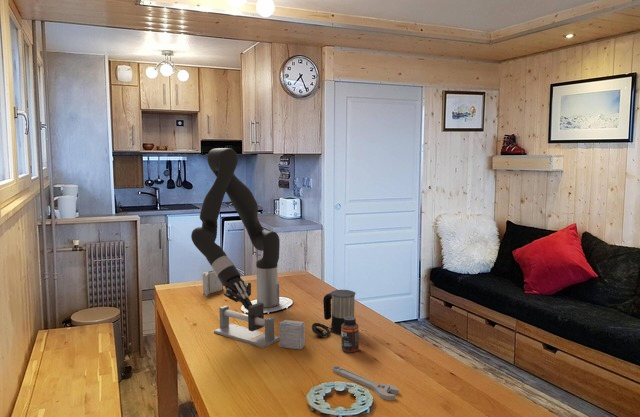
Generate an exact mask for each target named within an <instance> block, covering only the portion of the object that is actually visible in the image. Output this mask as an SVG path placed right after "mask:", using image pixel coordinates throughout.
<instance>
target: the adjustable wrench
mask: <svg viewBox="0 0 640 417" xmlns="http://www.w3.org/2000/svg"><path fill="white" fill-rule="evenodd" d="M331 370H332V373H335V374H337V375H340V376H342V377H343V378H346V379H349V380H351V381H353V382H355V383H357V384H360V385H362V386H364V387H366V388H369V389H371V390H373V391H374V392H375V393H376V394H377V396H378V397H379V398H381V399H383V400H386V401H387V400H388V401H394V400H396V398H397V397H396V395H399V394H400V389H399V388H398V387H396V386H395V385H393V384H392V383H387V384H386V383H378V382H375V381H373V380H371V379H369V378H366V377H365V376H363V375H359V374H357V373H355V372H353V371H350V370H348V369H346V368H344V367H341V366H339V365H335V366H334V365H333V366H332V369H331Z"/></svg>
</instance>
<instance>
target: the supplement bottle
mask: <svg viewBox="0 0 640 417" xmlns="http://www.w3.org/2000/svg"><path fill="white" fill-rule="evenodd" d="M340 335H341V336H340V337H341V340H340V341H341V343H340V344H341V350H342V351H343V352H345V353H356V352H357V351H359V349H360V348H359V345H360V344H359V339H360V338H359V337H360V335H359V323H357V321H356V316H354V317H352V316H348V317H345V318H344V323H343V324H342V326H341V334H340Z"/></svg>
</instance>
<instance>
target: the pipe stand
mask: <svg viewBox="0 0 640 417" xmlns="http://www.w3.org/2000/svg"><path fill="white" fill-rule="evenodd" d="M229 308H230V307H229V306H228V305H224V306H220V307H219V328H216V329H214V330H213V333H214V334H216V335H220V336H223V337H227V338H230V339H234V340H237V341H239V342H243V343H245V344H246V343H247V344H250V345H253V346H256V347H259V348H263V349H264V348H266V347H268V346H270V345H272V344H274V343H276V342H280V336H276V335H275V317H272V316H269V317H268V318H264V319H262V318H259V317H255V325H257V324H258V325H261V326H264V332H263V331H259V330H255V331H253V332H252V331H249V330H248V327H245V326H242V325H238V324H234V323H230V318H233V319H236V320H239V321H243V322H246V323H248V314H245V313H242V312H237V311H234V310H231V309H229Z"/></svg>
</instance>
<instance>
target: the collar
mask: <svg viewBox="0 0 640 417" xmlns="http://www.w3.org/2000/svg"><path fill="white" fill-rule="evenodd" d="M264 309H265V308H264V303H257V302H256V303H255V304H252V305H251V306H248V310H247V315H248V322H247V325H248V327H247V328H248V330H249V331H252V332H253V331H255V330H256V331H258V330H260V329H262V328H265V326H261V325H258V324H257V325H255V317H259V318H262V319H265V315H264V313H265V310H264Z"/></svg>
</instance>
